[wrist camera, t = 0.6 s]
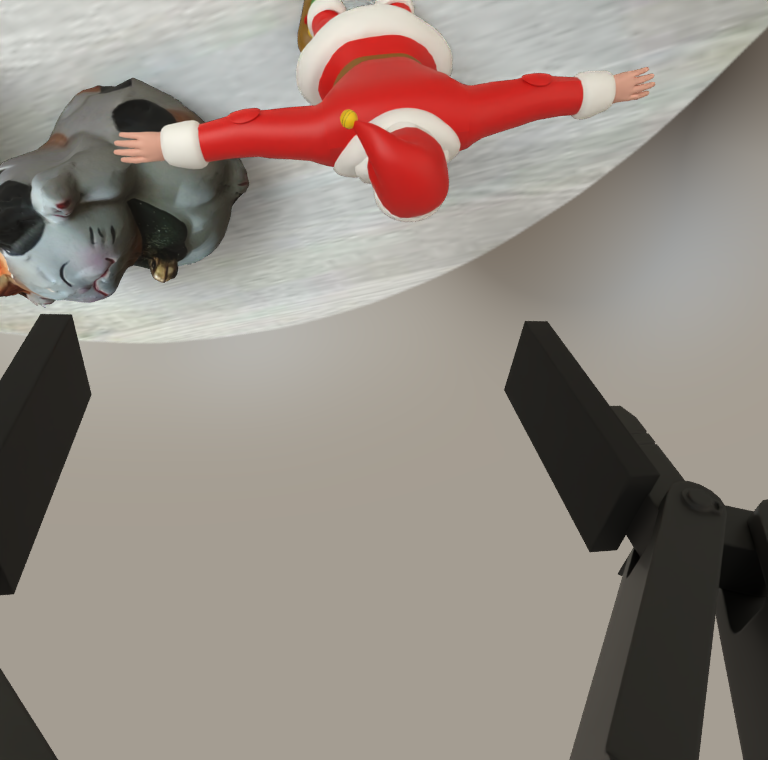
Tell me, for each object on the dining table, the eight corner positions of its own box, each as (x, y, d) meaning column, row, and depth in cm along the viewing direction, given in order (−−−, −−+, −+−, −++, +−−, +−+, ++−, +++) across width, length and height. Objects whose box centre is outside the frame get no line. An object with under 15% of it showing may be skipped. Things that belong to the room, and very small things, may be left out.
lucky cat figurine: (201, 266, 48) (99, 394, 40) (69, 164, 44) (-74, 284, 36) (283, 163, 37) (163, 312, 29) (115, 12, 32) (-78, 139, 25)
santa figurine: (159, 77, 35) (133, 294, 25) (120, -32, 30) (66, 178, 20) (547, 32, 37) (680, 216, 26) (568, -79, 32) (740, 92, 22)
